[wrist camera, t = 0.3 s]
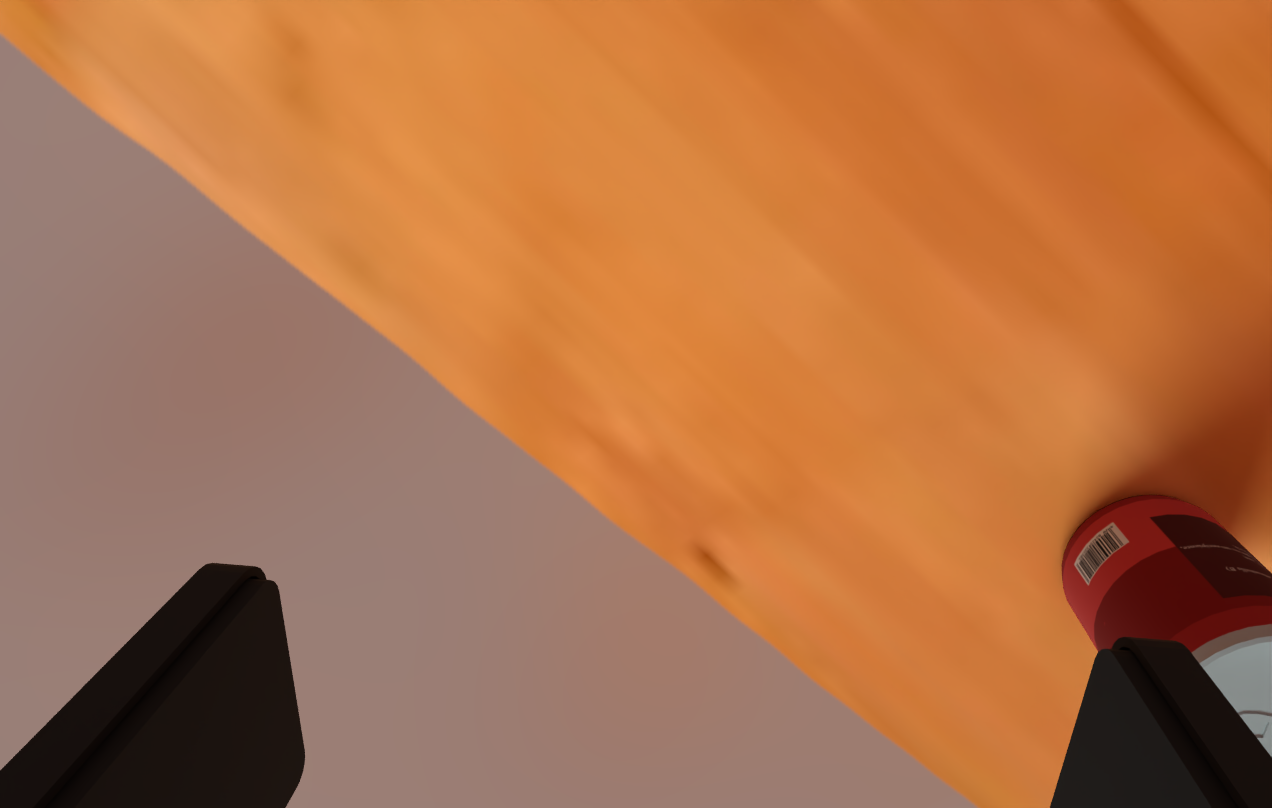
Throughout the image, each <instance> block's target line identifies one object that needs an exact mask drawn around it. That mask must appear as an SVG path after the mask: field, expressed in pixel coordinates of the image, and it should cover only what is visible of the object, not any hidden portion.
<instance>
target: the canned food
mask: <svg viewBox="0 0 1272 808" xmlns="http://www.w3.org/2000/svg"><path fill="white" fill-rule="evenodd" d="M1062 580H1063V589H1064V592H1065V595H1066V599H1067V601H1068V603H1069V604H1070V606H1071V608H1072V609H1073V611H1074V613H1075V614H1076V616H1077V618H1078V619H1079V621H1080V623H1081V624H1082V626H1083V628H1084V629H1085V631H1086V632H1087V634H1088V636H1089V637H1090V639H1091V641H1092V642H1093V644H1094V646H1095V647H1096V649H1097V650H1098V652H1099V651H1100V650H1101V649H1111V648H1112V646H1113V644H1114V642H1115V641H1116V640H1117V639H1118V638H1121V637H1136V638H1148V639H1161V640H1173V641H1177V642H1180V643H1182V644H1183V645H1185V646H1186V647H1187V648H1188V649H1189V650H1190V652H1191V653H1192V654H1193V656H1194V657H1195V658H1196V660H1197V661H1198V662H1199V663H1200V665H1201V666H1202V667H1203V669H1204V670H1205V671H1206V673H1207V674H1208V675H1209V676H1210V678H1211V679H1212V680H1213V682H1214V683H1215V684H1216V685H1217V687H1218V688H1219V689H1220V691H1221V692H1222V693H1223V695H1224V696H1225V697H1226V698H1227V700H1228V701H1229V702H1230V704H1231V705H1232V706H1233V708H1234V709H1235V710H1236V711H1237V713H1238V714H1239V715H1240V717H1241V718H1242V719H1243V721H1244V722H1245V723H1246V724H1247V726H1248V727H1249V728H1250V730H1251V731H1252V732H1253V733H1254V735H1255V736H1256V737H1257V739H1258V740H1259V741H1260V743H1261V744H1262V745H1263V746H1264V748H1265V749H1266V750H1267V752H1268V753H1269V754H1270V756H1271V757H1272V573H1271V572H1270V571H1269V570H1267V569H1266V568H1265V567H1264V566H1263V565H1262V564H1261V563H1260V562H1259V561H1258V560H1257V559H1256V558H1255V557H1254V556H1253V555H1252V554H1251V553H1250V552H1249V551H1248V550H1247V549H1245V548H1244V547H1243V546H1242V545H1241V544H1240V543H1239V542H1238V541H1237V540H1236V539H1235V538H1234V537H1233V536H1232V535H1231V534H1230V533H1229V532H1228V531H1227V530H1226V529H1225V528H1223V527H1222V526H1221V525H1220V524H1219V523H1218V522H1217V521H1216V520H1215V519H1214V518H1213V517H1212V516H1211V515H1209V514H1208V513H1206V512H1205V511H1203V510H1202V509H1201V508H1199V507H1196V506H1194V505H1191V504H1189V503H1186V502H1184V501H1181V500H1179V499H1176V498H1172V497H1167V496H1161V495H1143V496H1136V497H1130V498H1127V499H1124V500H1121V501H1118V502H1115V503H1112V504H1110V505H1108V506H1107V507H1105V508H1103V509H1101V510H1099V511H1098V512H1096V513H1095V514H1094V515H1092V516H1091V517H1090V518H1088V519H1087V520H1086V521H1085V522H1084V523H1083V524H1082V525H1081V526H1080V527H1079V528H1078V529H1077V531H1076V532H1075V534H1074V535H1073V537H1072V538H1071V539H1070V541H1069V543H1068V545H1067V548H1066V550H1065V553H1064V557H1063V562H1062Z"/></svg>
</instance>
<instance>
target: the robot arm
mask: <svg viewBox="0 0 1272 808" xmlns="http://www.w3.org/2000/svg"><path fill="white" fill-rule="evenodd" d="M304 762H305V749H304V744H303V737H302V731H301V725H300V718H299V712H298V706H297V700H296V694H295V687H294V681H293V675H292V669H291V662H290V657H289V650H288V644H287V638H286V631H285V625H284V619H283V613H282V607H281V601H280V594H279V590H278V586H277V585H276V583H275V582H274V581H271V580H266V577H265V574H264V572H263V571H262V570H261V569H260V568H258V567H255V566H243V565H231V564H219V563H210V564H206V565H205V566H203V567H202V568H201V569H199V570H198V571H197V572H196V573H195V574H194V575H193V576H192V577H191V578H190V579H189V580H188V581H187V582H186V583H185V584H184V586H182V587H181V588H180V589H179V591H178V592H176V593H175V595H174V596H173V597H172V598H171V599H170V600H169V601H168V602H167V603H166V604H165V605H164V606H163V607H162V608H161V609H160V610H159V611H158V612H157V613H156V614H155V615H154V616H153V617H152V618H151V619H150V620H149V621H148V622H147V623H146V624H145V625H144V626H143V627H142V628H141V629H140V630H139V631H138V632H137V633H136V634H135V635H134V636H133V637H132V638H131V639H130V640H129V641H128V642H127V643H126V644H125V645H124V646H123V647H122V648H121V649H120V650H119V651H118V652H117V653H116V654H115V655H114V656H113V657H112V658H111V659H110V660H109V661H108V662H107V663H106V664H105V665H104V666H103V667H102V668H101V669H100V670H99V671H98V672H97V673H96V674H95V675H94V676H93V677H92V679H90V681H88V682H87V683H86V684H85V685H84V686H83V687H82V689H81V690H80V691H79V692H78V693H77V694H76V695H75V696H74V697H73V698H72V699H71V700H70V701H69V702H68V703H67V704H66V705H65V706H64V707H63V708H62V709H61V710H60V711H59V712H58V713H57V714H56V715H55V716H54V717H53V718H52V719H51V720H50V721H49V722H48V723H47V724H46V725H45V726H44V727H43V728H42V729H41V730H40V731H39V732H38V733H37V734H36V735H35V736H34V737H33V738H32V739H31V740H30V741H29V742H28V743H27V744H26V745H25V746H24V747H23V748H22V749H21V750H20V751H19V752H18V753H17V754H16V755H15V756H14V757H13V758H12V759H11V760H10V761H9V762H8V763H7V764H6V766H4V767H3V768H2V769H1V770H0V808H285V807H286V806H287V804H288V802H289V800H290V798H291V797H292V795H293V793H294V791H295V790H296V788H297V786H298V784H299V782H300V779H301V776H302V773H303V768H304ZM1050 808H1272V757H1271V756H1270V754H1269V753H1268V752H1267V750H1266V749H1265V748H1264V746H1263V745H1262V744H1261V743H1260V741H1259V740H1258V739H1257V737H1256V736H1255V735H1254V733H1253V732H1252V731H1251V730H1250V728H1249V727H1248V726H1247V724H1246V723H1245V722H1244V721H1243V719H1242V718H1241V717H1240V715H1239V714H1238V713H1237V711H1236V710H1235V709H1234V708H1233V706H1232V705H1231V704H1230V702H1229V701H1228V700H1227V698H1226V697H1225V696H1224V695H1223V693H1222V692H1221V691H1220V689H1219V688H1218V687H1217V685H1216V684H1215V683H1214V682H1213V680H1212V679H1211V678H1210V676H1209V675H1208V674H1207V673H1206V671H1205V670H1204V669H1203V667H1202V666H1201V665H1200V663H1199V662H1198V661H1197V660H1196V658H1195V657H1194V656H1193V654H1192V653H1191V652H1190V650H1189V649H1188V648H1187V647H1186V646H1185V645H1183V644H1182V643H1180V642H1177V641H1173V640H1161V639H1148V638H1136V637H1121V638H1118V639H1117V640H1116V641H1115V642H1114V644H1113V646H1112V648H1111V649H1101V650H1100V651H1099V652H1098V653H1097V656H1096V658H1095V660H1094V664H1093V667H1092V670H1091V674H1090V677H1089V680H1088V684H1087V687H1086V690H1085V694H1084V697H1083V700H1082V703H1081V707H1080V710H1079V713H1078V717H1077V720H1076V723H1075V727H1074V730H1073V733H1072V736H1071V740H1070V743H1069V746H1068V750H1067V753H1066V756H1065V760H1064V763H1063V766H1062V769H1061V773H1060V776H1059V779H1058V783H1057V786H1056V789H1055V793H1054V796H1053V799H1052V802H1051V806H1050Z"/></svg>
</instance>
